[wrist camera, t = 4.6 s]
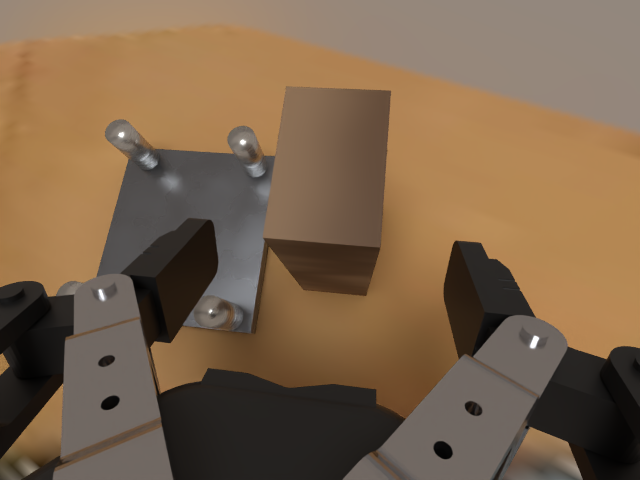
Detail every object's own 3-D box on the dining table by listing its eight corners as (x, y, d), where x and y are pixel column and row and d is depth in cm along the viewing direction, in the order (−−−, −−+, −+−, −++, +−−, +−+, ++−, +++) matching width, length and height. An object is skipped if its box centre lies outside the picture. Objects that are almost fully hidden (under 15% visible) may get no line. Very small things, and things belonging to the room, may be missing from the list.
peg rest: (98, 316, 21) (41, 309, 17) (140, 155, 24) (100, 118, 20) (254, 333, 20) (232, 330, 16) (280, 164, 23) (266, 127, 19)
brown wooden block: (303, 289, 20) (262, 237, 11) (314, 201, 22) (286, 86, 12) (365, 295, 20) (380, 247, 10) (372, 205, 21) (390, 90, 12)
